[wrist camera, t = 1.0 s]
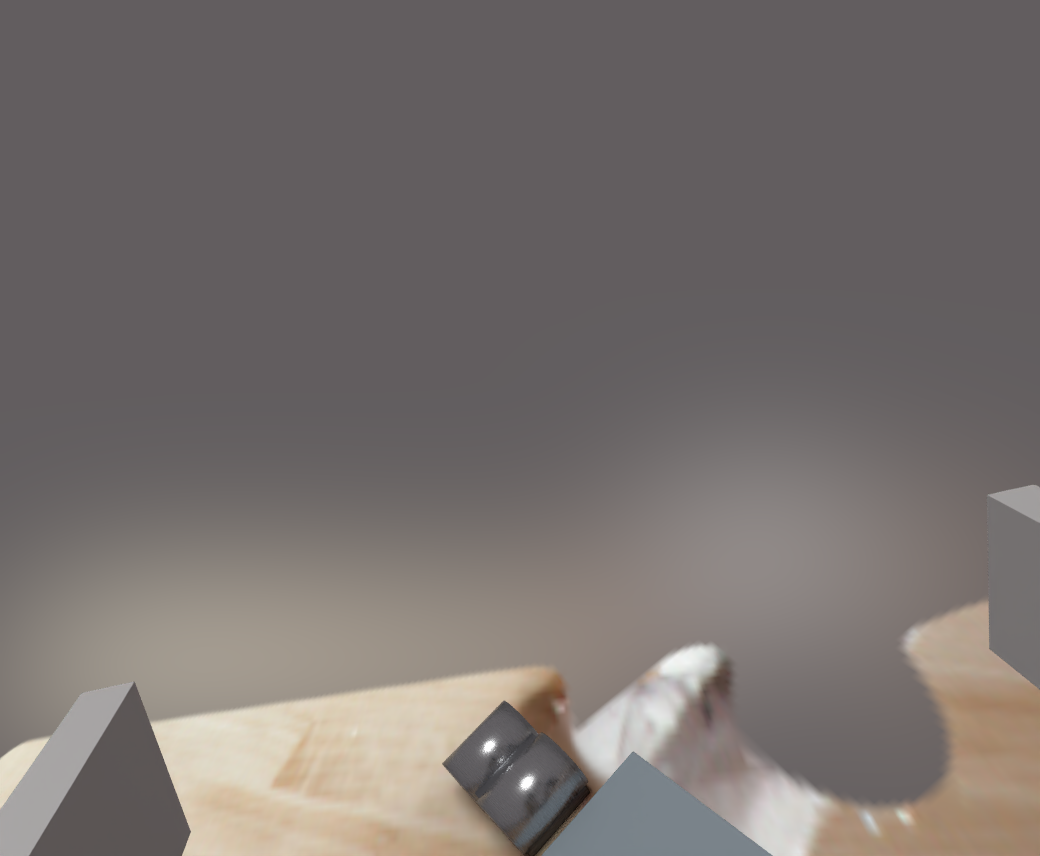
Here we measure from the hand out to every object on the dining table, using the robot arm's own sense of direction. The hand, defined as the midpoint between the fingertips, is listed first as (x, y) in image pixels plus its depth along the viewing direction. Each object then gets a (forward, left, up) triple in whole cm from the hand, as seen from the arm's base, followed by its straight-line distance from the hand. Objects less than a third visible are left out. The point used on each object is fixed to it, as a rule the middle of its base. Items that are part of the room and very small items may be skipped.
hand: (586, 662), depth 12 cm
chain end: (+22, 0, -24) cm, 33 cm away
